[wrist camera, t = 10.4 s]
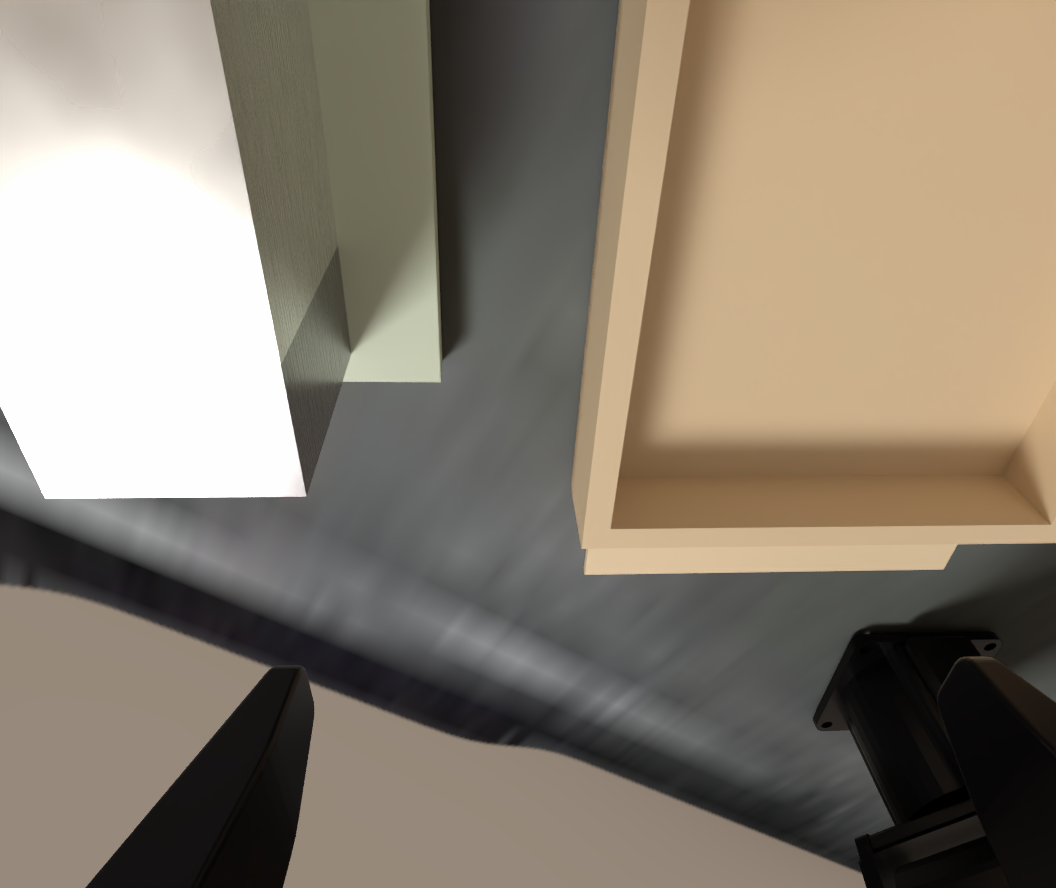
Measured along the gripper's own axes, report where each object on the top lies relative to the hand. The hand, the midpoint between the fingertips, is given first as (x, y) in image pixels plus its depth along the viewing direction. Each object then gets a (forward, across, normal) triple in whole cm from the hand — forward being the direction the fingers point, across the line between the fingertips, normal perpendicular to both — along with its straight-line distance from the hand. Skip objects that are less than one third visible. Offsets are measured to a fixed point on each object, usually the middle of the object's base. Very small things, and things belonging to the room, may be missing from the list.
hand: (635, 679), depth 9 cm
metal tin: (+11, +8, -5) cm, 15 cm away
